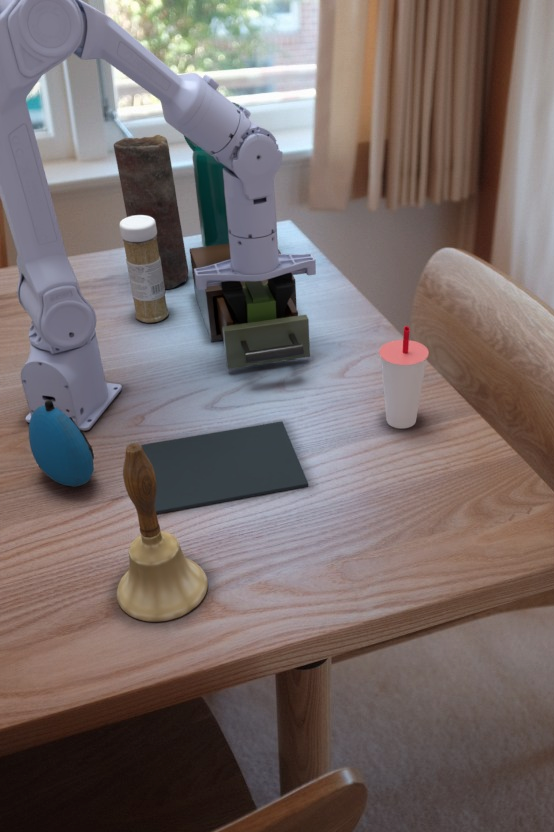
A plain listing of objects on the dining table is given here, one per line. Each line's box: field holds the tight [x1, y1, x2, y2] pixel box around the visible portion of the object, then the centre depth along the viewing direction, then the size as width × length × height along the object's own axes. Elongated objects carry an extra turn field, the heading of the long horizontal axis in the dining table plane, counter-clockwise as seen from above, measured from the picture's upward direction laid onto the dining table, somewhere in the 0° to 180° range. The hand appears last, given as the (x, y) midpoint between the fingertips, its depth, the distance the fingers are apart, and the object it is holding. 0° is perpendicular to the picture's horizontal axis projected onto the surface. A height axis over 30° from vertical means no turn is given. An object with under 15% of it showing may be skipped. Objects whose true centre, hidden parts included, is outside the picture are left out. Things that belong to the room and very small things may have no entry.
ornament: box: [28, 400, 95, 488], centre depth 93 cm, size 8×5×10 cm, turn 53°
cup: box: [378, 325, 430, 430], centre depth 100 cm, size 5×5×12 cm
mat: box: [140, 421, 309, 515], centre depth 97 cm, size 12×16×1 cm
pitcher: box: [183, 101, 241, 247], centre depth 132 cm, size 10×8×22 cm
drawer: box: [213, 295, 311, 370], centre depth 114 cm, size 17×10×5 cm, turn 16°
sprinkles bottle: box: [119, 215, 169, 324], centre depth 120 cm, size 5×5×13 cm
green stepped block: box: [243, 281, 276, 323], centre depth 113 cm, size 5×4×6 cm
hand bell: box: [116, 442, 209, 623], centre depth 78 cm, size 8×8×16 cm
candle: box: [113, 134, 189, 290], centre depth 126 cm, size 8×7×20 cm
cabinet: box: [189, 244, 298, 342], centre depth 122 cm, size 14×12×7 cm
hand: (260, 332), depth 115 cm, fingers closed on green stepped block, 3 cm apart
